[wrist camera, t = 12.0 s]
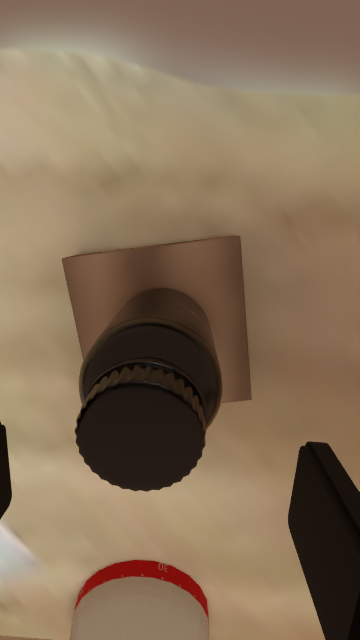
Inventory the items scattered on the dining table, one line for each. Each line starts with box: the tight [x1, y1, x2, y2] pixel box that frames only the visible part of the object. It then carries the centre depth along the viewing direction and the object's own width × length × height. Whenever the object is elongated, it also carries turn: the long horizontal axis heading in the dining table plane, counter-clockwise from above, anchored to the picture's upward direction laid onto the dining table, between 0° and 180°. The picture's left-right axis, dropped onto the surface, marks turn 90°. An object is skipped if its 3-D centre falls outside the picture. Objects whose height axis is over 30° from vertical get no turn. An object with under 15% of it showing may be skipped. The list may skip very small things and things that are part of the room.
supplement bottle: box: [75, 288, 223, 491], centre depth 17 cm, size 7×7×12 cm
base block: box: [62, 236, 252, 403], centre depth 25 cm, size 12×12×3 cm
